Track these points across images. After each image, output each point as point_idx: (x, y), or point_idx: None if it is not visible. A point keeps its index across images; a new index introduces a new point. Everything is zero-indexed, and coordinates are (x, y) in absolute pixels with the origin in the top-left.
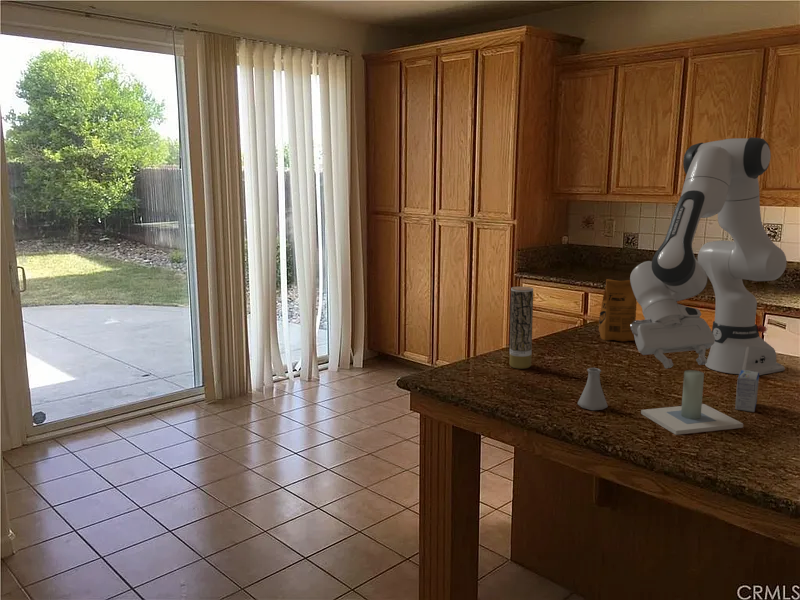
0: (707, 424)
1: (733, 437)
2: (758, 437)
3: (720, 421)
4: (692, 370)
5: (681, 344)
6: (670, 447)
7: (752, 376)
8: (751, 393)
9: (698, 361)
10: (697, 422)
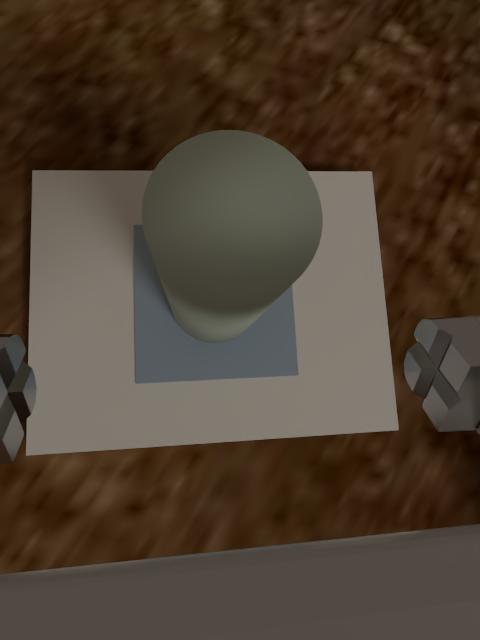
0: None
1: (156, 106)
2: (56, 82)
3: (119, 214)
4: (201, 283)
5: (306, 560)
6: (440, 92)
7: None
8: None
9: (13, 414)
10: None
